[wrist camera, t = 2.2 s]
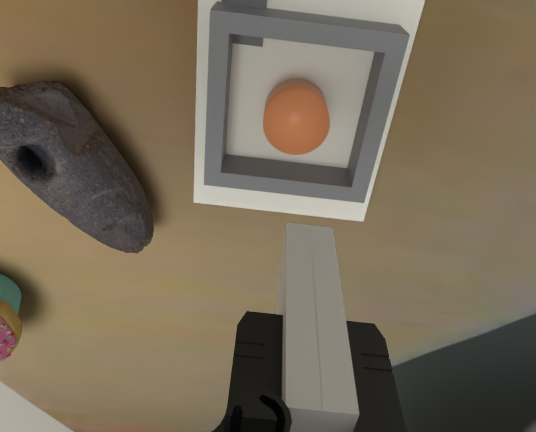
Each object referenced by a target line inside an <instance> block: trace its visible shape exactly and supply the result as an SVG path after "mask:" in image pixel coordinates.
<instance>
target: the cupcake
mask: <svg viewBox="0 0 536 432" xmlns="http://www.w3.org/2000/svg"><path fill="white" fill-rule="evenodd" d="M21 298H22V295H21V291H20V289H19V287H18V286H17V285H16V284H15V282H13V281H12V280H11V279H10V278H8V277H6V276H4V275H2V274H0V361H1V360H3V359H4V361H5V358H7V357H9V356H10V355H11V352H12V351H13V350H14V349H15V348H16V346H17V344H18V342H19V340H20V337H21V332H22V324H21V320H20V318H19V316H18V311H19V306H20V302H21Z"/></svg>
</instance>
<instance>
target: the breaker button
mask: <svg viewBox="0 0 536 432" xmlns="http://www.w3.org/2000/svg"><path fill="white" fill-rule="evenodd" d="M329 128H330V118H329V113H328V108H327V103H326V99H325V96H324V94H323V93H322V91H321V90H320V89H319V87H318V86H316V85H315V84H314V83H312V82H310V81H308V80H305V79H299V78H294V79H288V80H285V81H283V82H281V83H279V84H278V85H276V86H275V87H274V88H273V89H272V90H271V91H270V93H269V95H268V97H267V99H266V102H265V109H264V118H263V130H264V133H265V136H266V138H267V140H268V141H269V143H270V144H271V145H272V146H273V147H274V148H276V149H277V150H279V151H281V152H283V153H286V154H290V155H301V154H306V153H309V152H311V151H313V150H315V149H316V148H318V147H319V146H320V145H321V144H322V143H323V141H324V140H325V139H326V137H327V135H328V132H329Z"/></svg>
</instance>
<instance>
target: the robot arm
mask: <svg viewBox="0 0 536 432" xmlns="http://www.w3.org/2000/svg"><path fill="white" fill-rule="evenodd" d="M212 432H407V430H406V427H405V424H404V420H403V415H402V411H401V406H400V402H399V398H398V393H397V389H396V384H395V380H394V376H393V373H392V367H391V363H390V359H389V354H388V349H387V345H386V341H385V338H384V337H383V335H382V334H381V333H380V331H379V330H378V328H377V327H376V325H375V324H371V323H362V322H352V321H346V316H345V309H344V302H343V295H342V288H341V281H340V274H339V267H338V260H337V253H336V246H335V239H334V232H333V228H331V227H323V226H314V225H305V224H296V223H287V224H286V230H285V236H284V242H283V248H282V254H281V261H280V267H279V273H278V279H277V285H276V314H268V313H259V312H249V311H247V312H246V313H245V315H244V316H243V318H242V319H241V320H240V322H239V323H238V325H237V333H236V341H235V349H234V357H233V365H232V373H231V381H230V389H229V397H228V405H227V410H226V414H225V416H224V418H223V420H222V422H221V423H220V425H219V426H218V427H217V428H216V429H215V430H214V431H212Z"/></svg>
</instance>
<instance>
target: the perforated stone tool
mask: <svg viewBox="0 0 536 432" xmlns="http://www.w3.org/2000/svg"><path fill="white" fill-rule="evenodd" d="M0 160H1V161H2V162H3V163H4V164H5V165H6V166H7V167H8V168H9V169H10V171H12V173H13V174H14V175H15V176H16V177H17V178H18V179H19V180H20V181H21V182H23V183H24V184H25V185H26V186H27V187H28V188H30V189H31V191H32V192H33V193H34V194H36V195H37V196H38V197H39V198H40V199H41V200H43V201H44V202H45V203H46V204H47V205H49V207H51V208H52V209H53V210H55V211H56V212H57V213H59V214H60V215H62V216H64V217H65V218H67V219H68V220H69V221H70V222H71V223H72V224H73V225H75V226H76V227H78V228H79V229H81V230H82V231H83V232H85V233H87V234H88V235H90V236H91V237H93V238H94V239H96V240H98V241H99V242H101V243H103V244H105V245H107V246H109V247H111V248H114V249H117V250H120V251H124V252H125V253H126V252H127V253H132V252H133V253H138V252H140V251H141V250H142V249H143V248H144V247H145V246H147V245H148V244H149V243H150V242H151V239H152V237H153V230H154V228H153V218H152V213H151V209H150V206H149V203H148V200H147V197H146V195H145V193H144V190H143V188H142V186H141V184H140V183H139V181H138V179H137V177H136V176H135V174H134V173H133V171H132V170H131V168H130V167H129V165H128V164H127V162H126V161H125V160H124V158H123V157H122V155H121V154H120V152H119V151H118V150H117V148H116V147H115V146H114V144H113V143H112V142H111V140H110V139H109V137H108V136H107V135H106V133H105V132H104V131H103V129H102V128H101V127H100V125H99V124H98V123H97V122H96V120H95V119H93V117H92V115H91V113H90V112H89V111H88V110H87V109H86V108H85V107H84V106H83V105H82V104H81V103H80V101H79V100H78V99H77V98H76V96H75V95H74V94H73V93H72V92H71V91H70V90H69V89H67V88H65V86H64V85H63V84H61V83H60V82H51V83H49V82H39V83H30V84H20V85H15V86H13V87H11V88H6V87H0Z"/></svg>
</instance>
